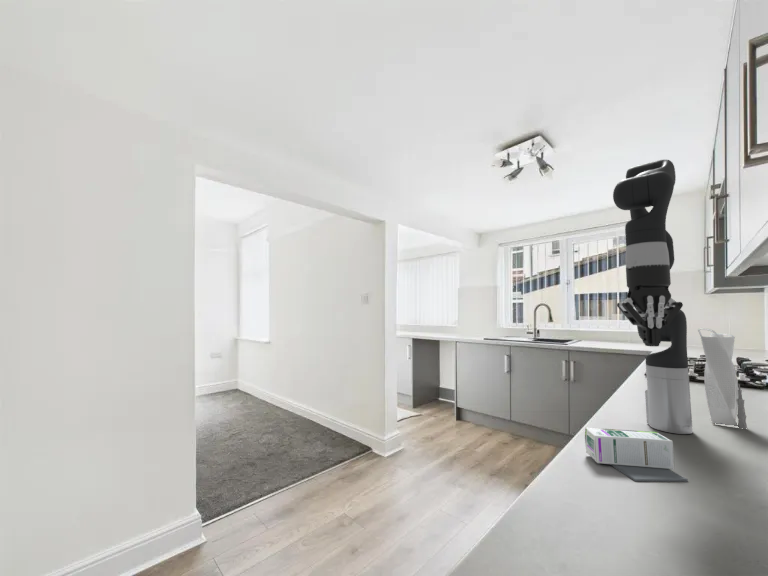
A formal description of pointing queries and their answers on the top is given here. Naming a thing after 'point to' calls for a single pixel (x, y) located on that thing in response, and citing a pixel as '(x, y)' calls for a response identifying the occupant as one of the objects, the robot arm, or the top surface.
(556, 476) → the top surface
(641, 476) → the mat
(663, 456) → the syrup box
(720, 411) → the skyscraper
